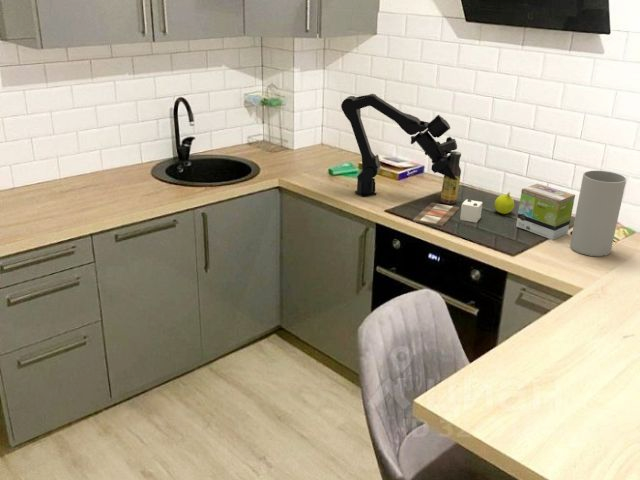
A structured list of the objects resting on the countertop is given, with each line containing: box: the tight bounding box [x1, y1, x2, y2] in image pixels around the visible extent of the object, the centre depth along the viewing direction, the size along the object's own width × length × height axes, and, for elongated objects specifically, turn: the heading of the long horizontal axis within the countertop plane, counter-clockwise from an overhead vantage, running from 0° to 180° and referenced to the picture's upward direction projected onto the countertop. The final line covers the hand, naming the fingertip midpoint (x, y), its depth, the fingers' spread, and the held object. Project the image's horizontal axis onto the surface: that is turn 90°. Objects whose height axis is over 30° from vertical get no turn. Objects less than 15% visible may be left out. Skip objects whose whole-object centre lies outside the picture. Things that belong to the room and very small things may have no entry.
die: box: [459, 198, 484, 223], centre depth 232 cm, size 6×6×7 cm
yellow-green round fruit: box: [494, 191, 515, 215], centre depth 237 cm, size 7×7×10 cm
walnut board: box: [412, 202, 460, 228], centre depth 236 cm, size 21×11×1 cm, turn 152°
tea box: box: [515, 183, 576, 241], centre depth 221 cm, size 15×10×15 cm
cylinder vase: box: [569, 170, 627, 257], centre depth 205 cm, size 12×12×25 cm
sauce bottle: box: [440, 150, 462, 205], centre depth 245 cm, size 7×6×20 cm
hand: (455, 176), depth 244 cm, fingers closed on sauce bottle, 6 cm apart
